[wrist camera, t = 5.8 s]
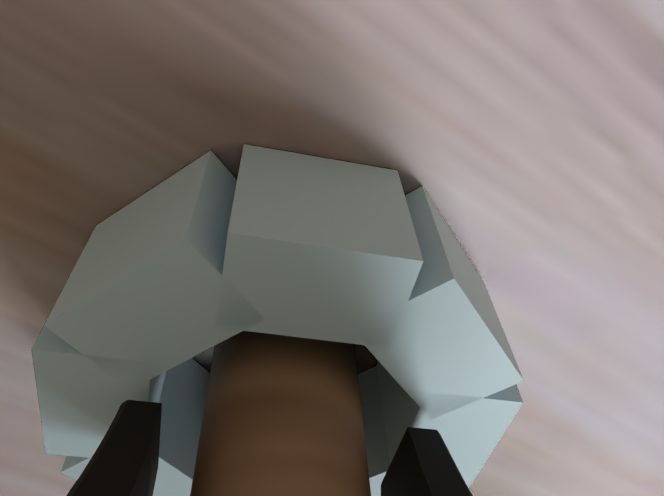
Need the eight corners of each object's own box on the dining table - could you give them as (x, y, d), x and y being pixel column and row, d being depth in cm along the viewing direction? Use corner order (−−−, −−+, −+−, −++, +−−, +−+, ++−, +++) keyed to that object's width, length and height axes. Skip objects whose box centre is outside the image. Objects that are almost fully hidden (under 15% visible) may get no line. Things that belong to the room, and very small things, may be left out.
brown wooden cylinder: (339, 370, 15) (363, 697, 9) (216, 360, 14) (164, 697, 9) (363, 277, 13) (412, 615, 7) (223, 262, 13) (163, 610, 7)
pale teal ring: (410, 451, 17) (428, 552, 15) (93, 422, 16) (55, 530, 13) (536, 194, 12) (595, 286, 10) (78, 115, 10) (11, 200, 8)
